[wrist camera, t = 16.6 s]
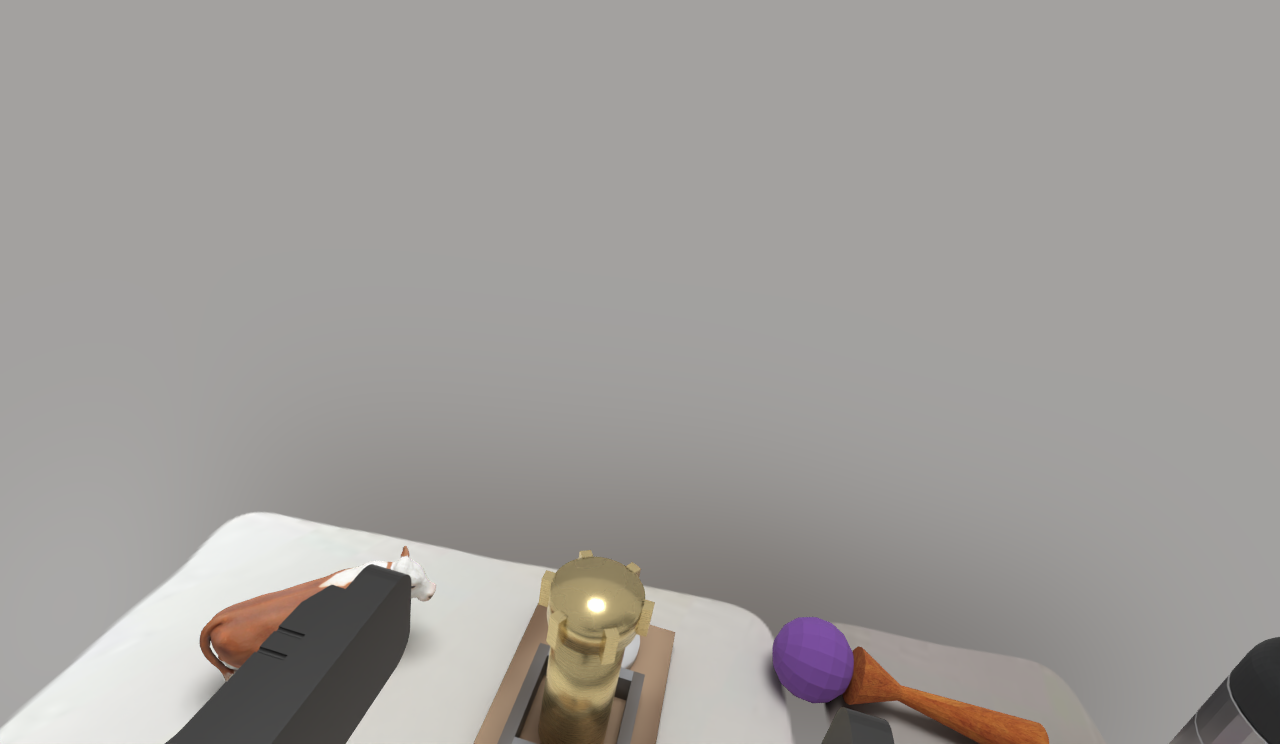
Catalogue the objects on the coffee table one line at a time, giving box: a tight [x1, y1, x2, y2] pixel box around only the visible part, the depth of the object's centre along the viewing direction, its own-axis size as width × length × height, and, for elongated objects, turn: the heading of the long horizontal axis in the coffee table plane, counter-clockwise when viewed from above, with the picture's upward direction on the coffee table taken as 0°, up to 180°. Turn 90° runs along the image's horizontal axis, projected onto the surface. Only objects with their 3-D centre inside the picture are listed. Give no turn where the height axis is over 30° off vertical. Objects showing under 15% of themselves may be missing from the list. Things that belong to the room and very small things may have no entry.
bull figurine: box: [200, 546, 436, 682], centre depth 40 cm, size 4×13×8 cm, turn 120°
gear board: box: [474, 603, 675, 744], centre depth 39 cm, size 11×20×4 cm, turn 169°
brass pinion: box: [538, 550, 655, 744], centre depth 37 cm, size 6×6×12 cm
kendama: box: [773, 617, 1049, 744], centre depth 46 cm, size 6×6×20 cm
